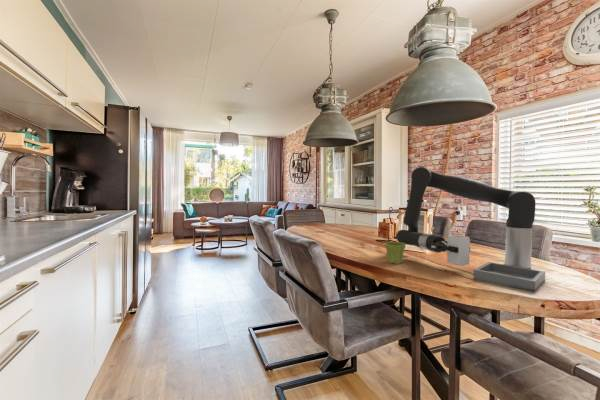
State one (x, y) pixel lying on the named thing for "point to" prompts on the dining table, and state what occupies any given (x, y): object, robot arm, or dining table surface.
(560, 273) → the dining table surface
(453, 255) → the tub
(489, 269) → the tray
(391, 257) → the plant pot
